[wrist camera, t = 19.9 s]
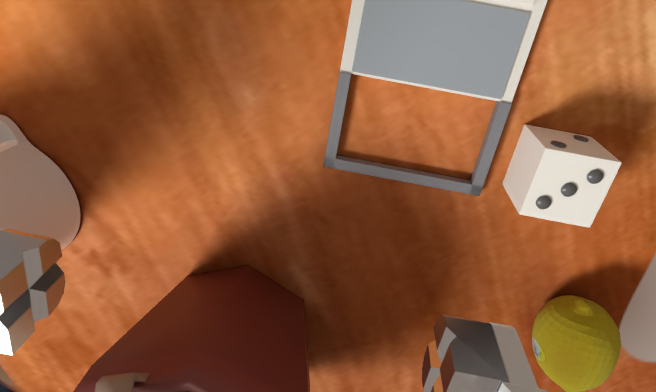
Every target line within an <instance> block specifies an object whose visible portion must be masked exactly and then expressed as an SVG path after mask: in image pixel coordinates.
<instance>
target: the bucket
mask: <svg viewBox="0 0 656 392" xmlns="http://www.w3.org/2000/svg"><path fill="white" fill-rule="evenodd" d="M73 392H310V381H309V363H308V347H307V335H306V323H305V312H304V300H303V299H301V298H300V297H298V296H296V295H295V294H293V293H292V292H290V291H288V290H287V289H285V288H284V287H282V286H281V285H279V284H277V283H276V282H274V281H273V280H271V279H270V278H268V277H266V276H265V275H263V274H262V273H260V272H258V271H257V270H255V269H254V268H252V267H251V266H249V265H246V266H240V267H235V268H229V269H223V270H218V271H212V272H207V273H201V274H196V275H190V276H187V277H186V278H185V279H184V280H183V281H181V282H180V283H179V284H178V285H177V286H176V287H175V288H174V289H173V290H172V291H171V292H170V293H169V294H168V295H167V296H165V297H164V298H163V299H162V300H161V301H160V302H159V303H158V304H157V305H156V306H155V307H154V308H153V309H152V310H150V311H149V312H148V313H147V314H146V315H145V316H144V317H143V318H142V319H141V320H140V321H139V322H138V323H137V324H136V325H134V326H133V327H132V328H131V329H130V330H129V331H128V332H127V333H126V334H125V335H124V336H123V337H122V338H121V339H120V340H118V341H117V342H116V343H115V344H114V345H113V346H112V347H111V348H110V349H109V350H108V351H107V352H106V353H105V354H103V355H102V356H101V357H100V358H99V359H98V360H97V361H96V362H95V363H94V364H93V365H92V366H91V367H90V369H89V370H88V372H87V373H86V374H85V376H84V377H83V379H82V380H81V382H80V383H79V384H78V386H77V387H76V389H75V390H74V391H73Z"/></svg>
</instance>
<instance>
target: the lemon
mask: <svg viewBox="0 0 656 392" xmlns="http://www.w3.org/2000/svg"><path fill="white" fill-rule="evenodd" d="M532 344H533V350H534V354H535V357H536V359H537V362H538V364H539V365H540V367H541V368H542V370H543V371H544V372H545V373H546V374H547V375H548V376H549V377H550V378H551V379H552V380H553V381H554V382H555V383H557V384H558V385H559V386H560V387H561V388H562V389H563V390H565V391H566V392H584V391H586V390H589V389H593V388H596V387H598V386H599V385H601V384H602V383H603V382H604V381H606V380H607V378H608V377H609V376H610V375H611V373H612V372H613V370H614V368H615V365H616V363H617V360H618V357H619V353H620V348H621V341H620V333H619V330H618V328H617V325H616V323H615V322H614V320H613V319H612V318H611V316H610V315H609V314H608V312H607V311H606V310H605V309H604V308H603V307H601V306H600V305H598V304H597V303H595V302H593V301H591V300H588V299H585V298H582V297H578V296H573V295H564V296H559V297H556V298H554V299H552V300H550V301H549V302H547V303H546V304H545V305H544V306H543V307H542V309H541V310H540V311H539V313H538V314H537V315H536V318H535V321H534V325H533V330H532Z"/></svg>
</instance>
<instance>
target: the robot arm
mask: <svg viewBox="0 0 656 392" xmlns="http://www.w3.org/2000/svg"><path fill="white" fill-rule="evenodd" d="M79 225H80V207H79V202H78V199H77V196H76V193H75V191H74V189H73V187H72V185H71V183H70V182H69V180H68V179H67V177H66V176H65V174H64V173H63V172H62V171H61V169H60V168H59V167H58V166H57V165H56V164H55V163H54V162H53V161H52V160H51V159H50V158H48V157H47V156H46V155H45V154H43V153H42V152H41V151H39V150H38V149H37V148H35V147H34V146H33V145H32V144H31V143H30V142H29V141H28V140H27V139H26V137H25V136H24V135H23V133H22V132H21V130H20V129H19V128H18V127H17V125H16V124H15V123H14V122H13V121H12V120H11V119H10V118H9V117H7V116H5V115H0V353H2V354H8V355H13V354H14V353H15V352H16V351H17V350H18V349H19V348H20V347H21V345H22V344H23V343H24V342H25V341H26V340H27V339H28V338H29V337H30V336H31V335H32V334H33V333H34V331H35V325H34V322H36V321H38V320H41V319H43V318H45V317H48V316H49V315H50V314H51V313H52V312H53V311H54V309H55V308H56V307H57V306H58V304H59V302H60V300H61V297H62V295H63V293H64V287H65V277H64V272H63V271H62V270H61V269H60V267H59V266H58V265H57V264H56V262H57V261H58V260H59V259H60V258H61V257H62V252H61V250H62V249H63V248H65V247H66V246H68V245H69V244H70V243H71V242H72V241H73V239H74V238H75V236H76V234H77V232H78V229H79ZM434 333H435V340H433V341H432V342H430V343H429V344H428V346H427V349H426V352H425V356H424V362H423V368H422V383H423V390H424V391H425V392H547V391H546V390H542V389H538V386H537V383H536V381H535V378H534V375H533V373H532V370H531V368H530V365H529V362H528V360H527V357H526V355H525V352H524V349H523V347H522V344H521V341H520V339H519V336H518V334H517V331H516V329H515V328H514V327H513V326H509V325H503V324H497V323H491V322H488V323H486V322H481V321H476V320H471V319H466V318H460V317H455V316H450V315H444V314H440V316H439V317H438V319H437V321H436V324H435V326H434Z"/></svg>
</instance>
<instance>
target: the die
mask: <svg viewBox="0 0 656 392" xmlns="http://www.w3.org/2000/svg"><path fill="white" fill-rule="evenodd" d="M621 163H622V162H621V161H619V160H618V159H617V158H616V157H615V156H613V155H612V154H611V153H610V152H609V151H607V150H606V149H605V148H604V147H603V146H602V145H600V144H599V143H598V142H597V141H596V140H594V139H593V138H592V137H590V136H585V135H580V134H574V133H569V132H564V131H558V130H553V129H548V128H542V127H537V126H532V125H526V124H524V127H523V129H522V132H521V135H520V137H519V140H518V143H517V146H516V148H515V151H514V154H513V156H512V159H511V162H510V164H509V167H508V170H507V172H506V175H505V178H504V180H503V183H502V184H503V186H504V188H505V190H506V192H507V193H508V195H509V197H510V199H511V201H512V202H513V204H514V206H515V208H516V210H517V212H518V213H519V214H520V215H526V216H531V217H536V218H541V219H547V220H552V221H557V222H562V223H568V224H573V225H578V226H584V227H589V228H590V226H591V224H592V222H593V220H594V218H595V216H596V214H597V212H598V210H599V208H600V206H601V204H602V202H603V200H604V198H605V196H606V194H607V192H608V190H609V188H610V186H611V184H612V182H613V180H614V178H615V176H616V174H617V172H618V169H619V167H620V165H621Z"/></svg>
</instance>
